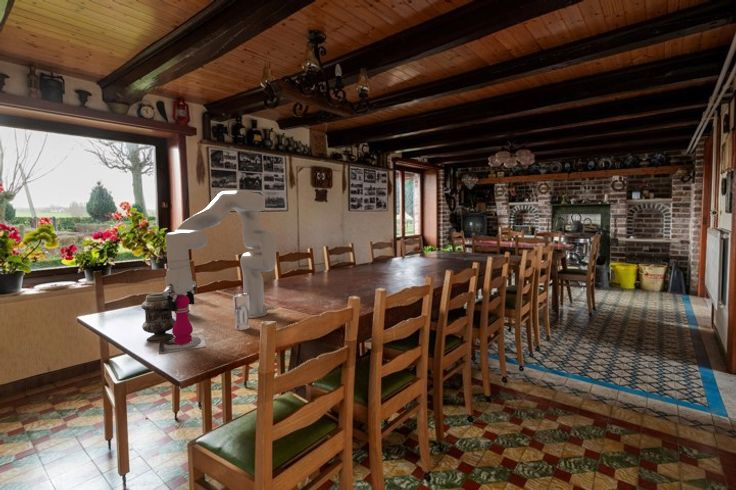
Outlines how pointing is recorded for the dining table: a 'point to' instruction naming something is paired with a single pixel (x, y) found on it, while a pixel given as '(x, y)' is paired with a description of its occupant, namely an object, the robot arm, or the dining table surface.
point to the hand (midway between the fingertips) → (182, 307)
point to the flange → (181, 345)
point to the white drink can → (241, 310)
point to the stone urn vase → (157, 318)
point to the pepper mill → (182, 321)
